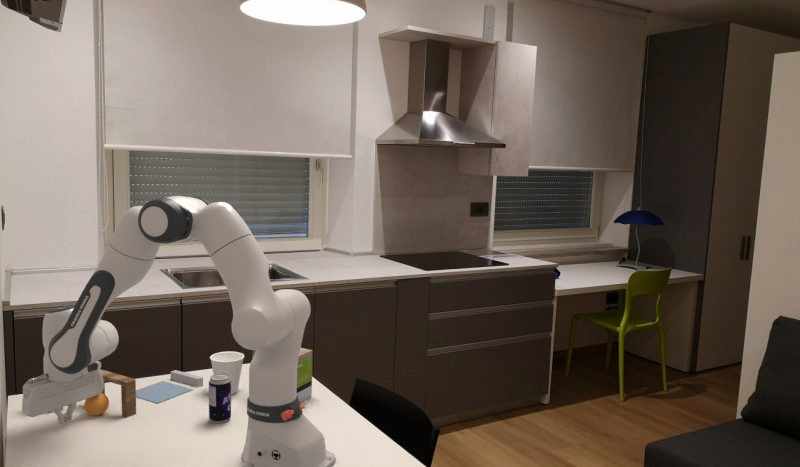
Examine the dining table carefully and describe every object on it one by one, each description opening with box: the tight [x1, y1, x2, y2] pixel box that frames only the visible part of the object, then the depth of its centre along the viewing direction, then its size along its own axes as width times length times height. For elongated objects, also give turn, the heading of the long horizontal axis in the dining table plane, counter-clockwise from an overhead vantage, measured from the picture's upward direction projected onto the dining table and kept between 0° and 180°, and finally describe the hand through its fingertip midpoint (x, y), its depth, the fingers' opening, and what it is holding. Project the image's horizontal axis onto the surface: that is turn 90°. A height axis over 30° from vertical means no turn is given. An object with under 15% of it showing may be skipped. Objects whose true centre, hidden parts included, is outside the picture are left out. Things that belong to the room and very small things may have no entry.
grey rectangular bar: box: [170, 369, 204, 388], centre depth 201 cm, size 12×2×2 cm, turn 61°
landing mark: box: [136, 380, 194, 404], centre depth 193 cm, size 13×13×1 cm
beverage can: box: [208, 374, 232, 424], centre depth 174 cm, size 6×6×12 cm
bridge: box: [99, 368, 137, 418], centre depth 179 cm, size 15×3×10 cm, turn 61°
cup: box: [209, 351, 245, 396], centre depth 194 cm, size 10×10×11 cm
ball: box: [83, 393, 110, 416], centre depth 175 cm, size 6×6×6 cm
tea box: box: [251, 347, 313, 404], centre depth 191 cm, size 15×10×15 cm, turn 62°
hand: (65, 421), depth 167 cm, fingers closed
